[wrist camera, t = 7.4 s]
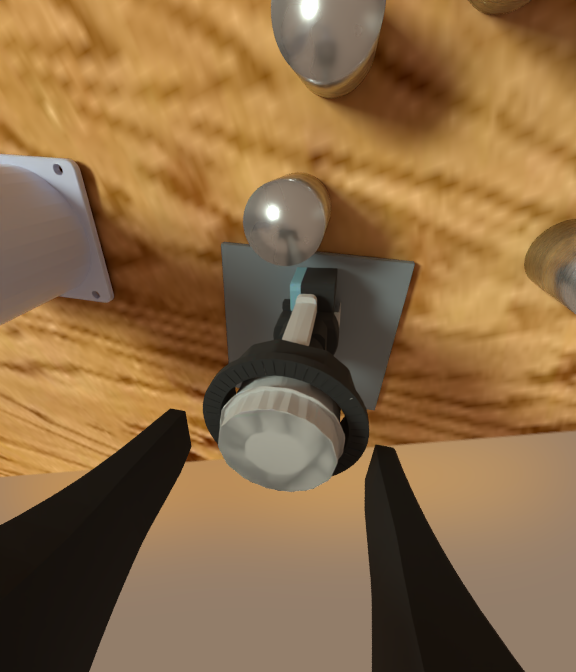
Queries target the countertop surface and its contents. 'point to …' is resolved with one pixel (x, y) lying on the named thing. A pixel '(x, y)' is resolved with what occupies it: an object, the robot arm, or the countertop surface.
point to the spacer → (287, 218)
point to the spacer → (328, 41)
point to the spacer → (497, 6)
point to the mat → (356, 308)
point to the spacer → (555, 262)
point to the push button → (291, 396)
